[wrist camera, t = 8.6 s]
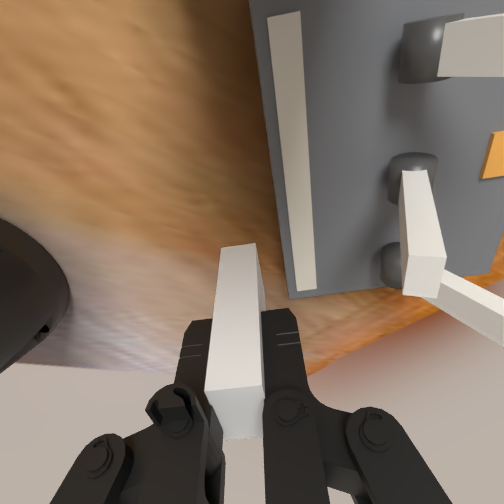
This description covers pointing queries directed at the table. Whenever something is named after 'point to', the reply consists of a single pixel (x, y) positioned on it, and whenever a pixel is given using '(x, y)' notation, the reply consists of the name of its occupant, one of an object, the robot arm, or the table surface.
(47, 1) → the table surface
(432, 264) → the lever
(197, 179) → the table surface
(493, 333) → the lever
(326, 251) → the breaker panel
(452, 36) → the lever
